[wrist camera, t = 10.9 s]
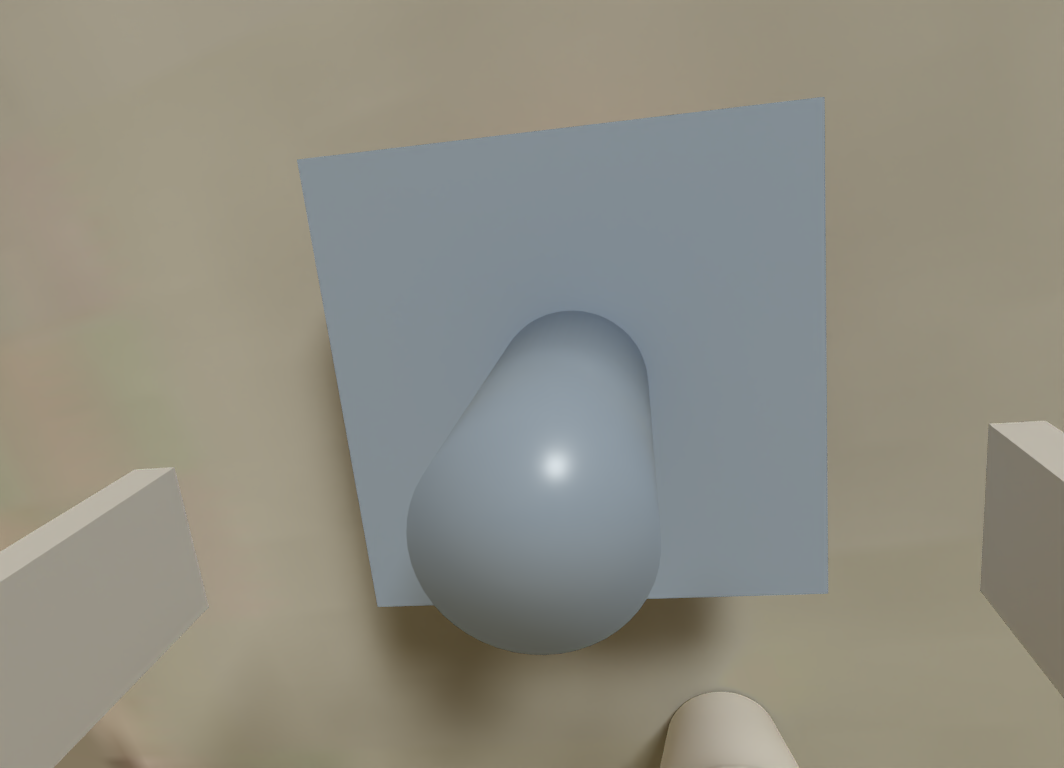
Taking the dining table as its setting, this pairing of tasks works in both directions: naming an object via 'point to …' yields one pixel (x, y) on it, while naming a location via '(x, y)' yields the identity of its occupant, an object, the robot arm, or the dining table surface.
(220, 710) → the dining table surface
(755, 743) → the soft serve ice cream cone
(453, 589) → the lid
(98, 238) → the dining table surface
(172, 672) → the dining table surface
